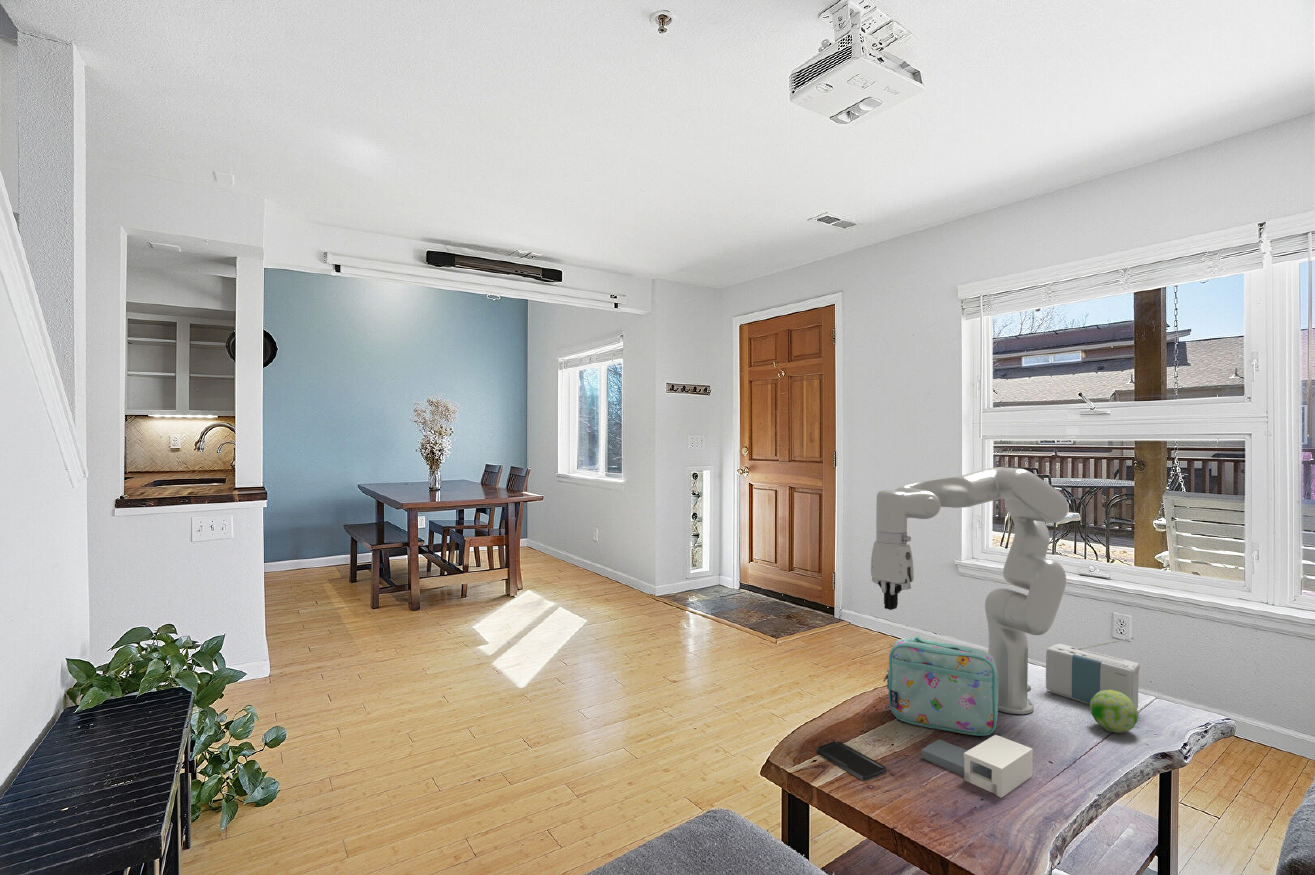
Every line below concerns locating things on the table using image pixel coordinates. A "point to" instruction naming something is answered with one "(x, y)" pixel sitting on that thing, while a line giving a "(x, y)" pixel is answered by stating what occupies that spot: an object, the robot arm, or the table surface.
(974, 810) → the table surface
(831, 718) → the table surface
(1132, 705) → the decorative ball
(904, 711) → the lunch box
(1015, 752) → the white hollow box
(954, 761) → the slate board
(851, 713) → the table surface
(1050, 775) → the table surface
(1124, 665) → the stereo radio cassette player
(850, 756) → the phone
